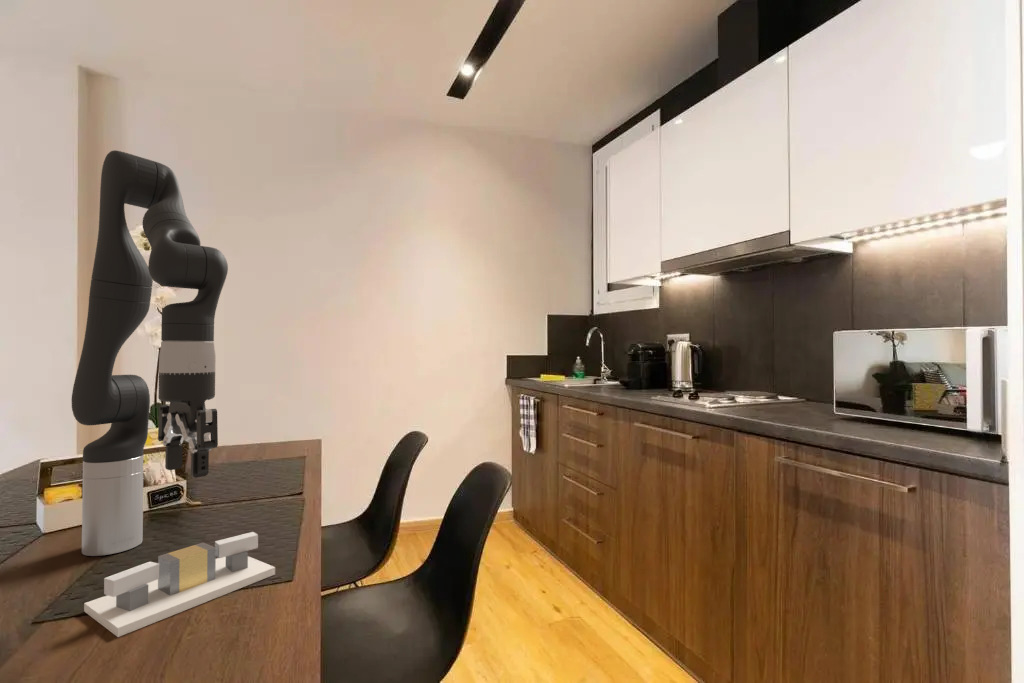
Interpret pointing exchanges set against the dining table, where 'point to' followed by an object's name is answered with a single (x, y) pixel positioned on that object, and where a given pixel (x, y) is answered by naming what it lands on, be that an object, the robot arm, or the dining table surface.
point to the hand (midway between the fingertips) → (186, 472)
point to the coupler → (186, 568)
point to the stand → (143, 603)
